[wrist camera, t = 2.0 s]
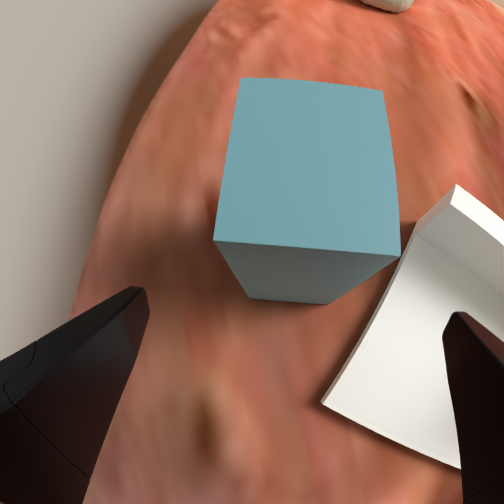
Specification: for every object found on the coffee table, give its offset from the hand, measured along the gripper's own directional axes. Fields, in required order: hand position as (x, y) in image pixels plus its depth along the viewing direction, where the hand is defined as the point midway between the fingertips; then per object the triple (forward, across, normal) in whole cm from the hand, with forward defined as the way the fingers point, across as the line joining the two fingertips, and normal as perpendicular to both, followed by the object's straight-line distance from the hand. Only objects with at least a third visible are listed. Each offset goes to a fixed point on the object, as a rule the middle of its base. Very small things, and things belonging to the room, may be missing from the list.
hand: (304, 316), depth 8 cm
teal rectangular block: (+11, 0, +5) cm, 12 cm away
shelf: (+6, -14, +10) cm, 18 cm away
